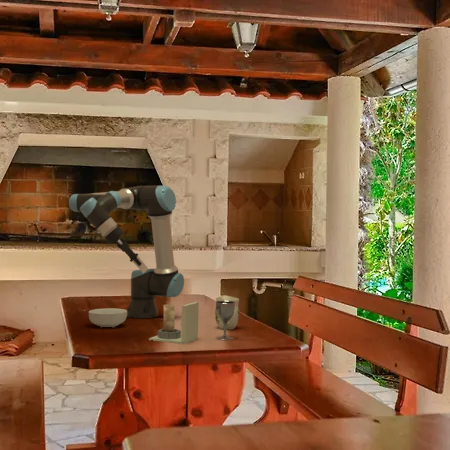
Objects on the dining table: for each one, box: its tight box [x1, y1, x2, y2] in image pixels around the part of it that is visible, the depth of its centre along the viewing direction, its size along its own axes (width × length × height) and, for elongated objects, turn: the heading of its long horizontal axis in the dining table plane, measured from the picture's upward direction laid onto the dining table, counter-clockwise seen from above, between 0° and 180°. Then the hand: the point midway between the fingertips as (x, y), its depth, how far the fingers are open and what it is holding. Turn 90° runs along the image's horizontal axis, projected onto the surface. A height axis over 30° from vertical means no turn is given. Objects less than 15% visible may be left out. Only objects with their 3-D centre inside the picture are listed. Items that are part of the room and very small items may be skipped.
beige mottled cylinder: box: [163, 304, 176, 332], centre depth 280 cm, size 4×4×13 cm
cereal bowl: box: [88, 307, 128, 328], centre depth 308 cm, size 17×17×7 cm
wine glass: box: [215, 300, 235, 341], centre depth 285 cm, size 8×8×15 cm
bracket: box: [148, 301, 200, 345], centre depth 279 cm, size 16×12×15 cm
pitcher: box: [214, 294, 240, 331], centre depth 308 cm, size 11×18×14 cm, turn 10°
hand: (145, 270), depth 282 cm, fingers open, 13 cm apart
